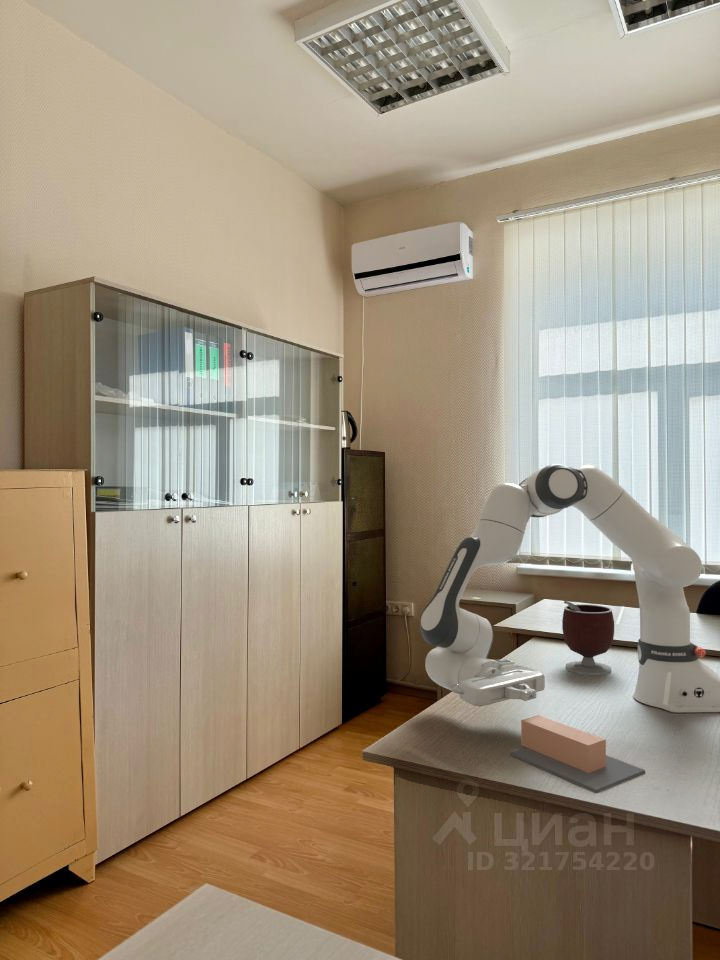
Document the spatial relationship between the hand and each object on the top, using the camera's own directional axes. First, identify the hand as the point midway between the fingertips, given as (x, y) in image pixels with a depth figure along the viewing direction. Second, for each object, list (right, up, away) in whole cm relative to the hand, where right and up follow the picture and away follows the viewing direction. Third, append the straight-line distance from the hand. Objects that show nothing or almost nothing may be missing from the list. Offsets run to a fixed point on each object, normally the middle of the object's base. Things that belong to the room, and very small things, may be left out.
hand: (531, 695), depth 139 cm
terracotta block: (0, -7, 0) cm, 7 cm away
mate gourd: (+29, -10, +55) cm, 63 cm away
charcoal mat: (+6, -10, -9) cm, 15 cm away
